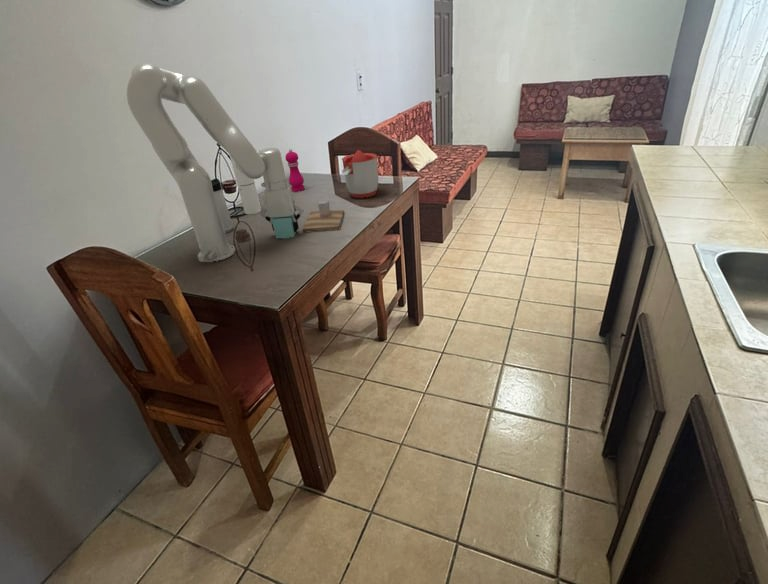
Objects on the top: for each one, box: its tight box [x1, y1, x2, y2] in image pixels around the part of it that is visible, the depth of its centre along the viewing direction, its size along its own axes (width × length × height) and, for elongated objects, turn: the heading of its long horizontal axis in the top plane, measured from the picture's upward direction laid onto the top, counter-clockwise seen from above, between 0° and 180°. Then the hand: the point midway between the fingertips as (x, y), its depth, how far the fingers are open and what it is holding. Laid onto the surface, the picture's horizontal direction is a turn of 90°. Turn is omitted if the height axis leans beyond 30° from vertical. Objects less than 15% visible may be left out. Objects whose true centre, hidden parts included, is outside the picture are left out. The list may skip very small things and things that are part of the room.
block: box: [318, 199, 331, 217], centre depth 168 cm, size 4×4×6 cm
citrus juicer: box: [341, 149, 379, 199], centre depth 187 cm, size 16×17×20 cm
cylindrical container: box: [229, 155, 262, 215], centre depth 179 cm, size 7×7×25 cm
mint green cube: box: [272, 216, 297, 240], centre depth 157 cm, size 7×7×8 cm
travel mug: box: [210, 178, 234, 234], centre depth 163 cm, size 6×7×20 cm
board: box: [302, 209, 345, 233], centre depth 166 cm, size 18×14×2 cm
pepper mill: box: [285, 148, 305, 193], centre depth 203 cm, size 7×7×20 cm
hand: (286, 231), depth 158 cm, fingers closed on mint green cube, 6 cm apart
